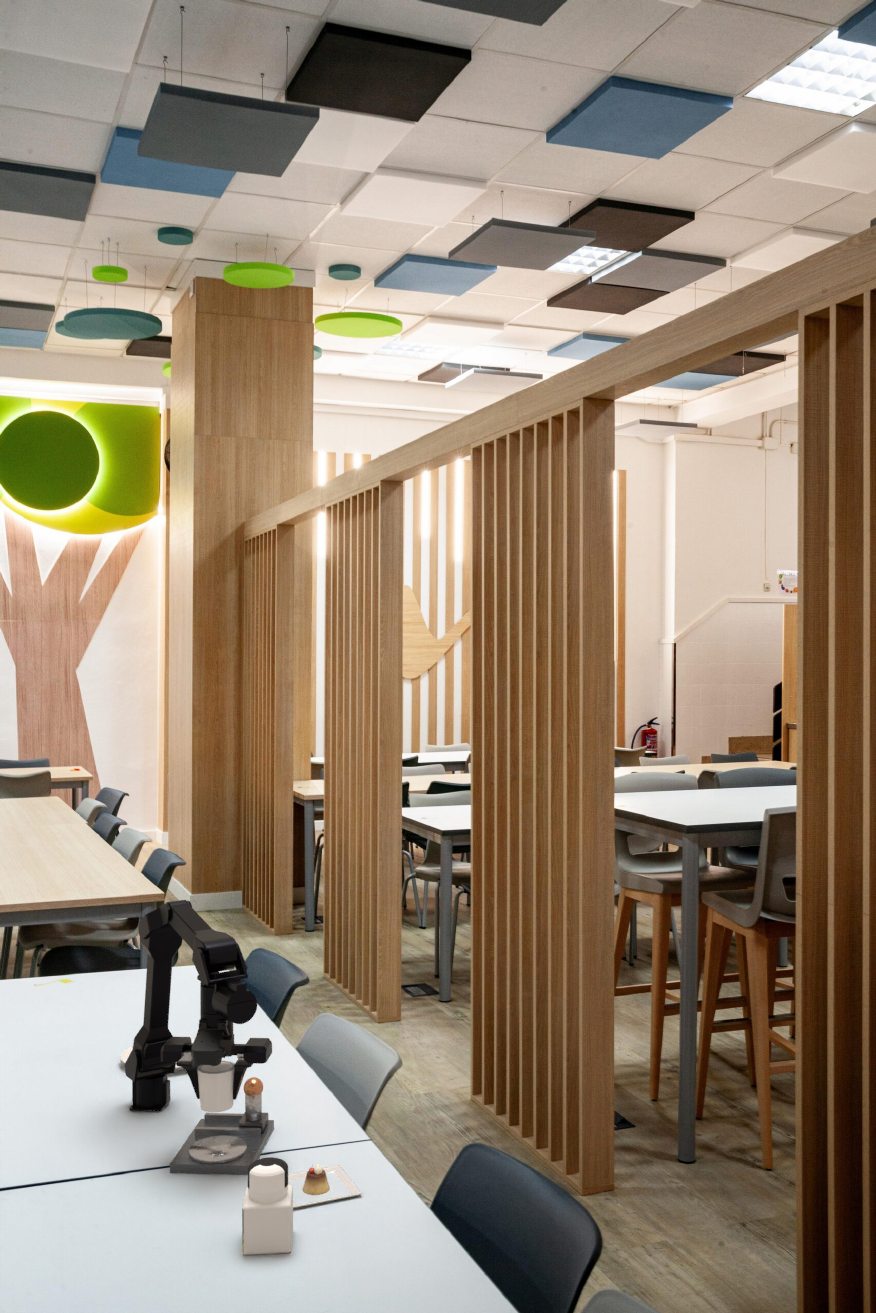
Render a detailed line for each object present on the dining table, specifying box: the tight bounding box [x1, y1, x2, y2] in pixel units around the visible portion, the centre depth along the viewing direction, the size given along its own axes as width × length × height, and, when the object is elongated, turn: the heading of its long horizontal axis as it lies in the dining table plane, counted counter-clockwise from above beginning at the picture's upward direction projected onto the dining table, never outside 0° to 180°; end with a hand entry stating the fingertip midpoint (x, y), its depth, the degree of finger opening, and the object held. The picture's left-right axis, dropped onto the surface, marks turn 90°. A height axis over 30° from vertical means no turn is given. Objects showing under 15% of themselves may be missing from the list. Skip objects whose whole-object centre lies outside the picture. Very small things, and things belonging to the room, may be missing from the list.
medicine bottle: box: [241, 1156, 294, 1256], centre depth 171 cm, size 7×7×12 cm
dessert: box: [288, 1163, 363, 1209], centre depth 189 cm, size 12×12×5 cm
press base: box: [169, 1112, 275, 1176], centre depth 205 cm, size 14×20×3 cm
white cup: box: [197, 1060, 236, 1113], centre depth 200 cm, size 7×7×7 cm
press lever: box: [239, 1077, 269, 1132], centre depth 210 cm, size 4×5×9 cm
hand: (217, 1098), depth 200 cm, fingers closed on white cup, 6 cm apart
